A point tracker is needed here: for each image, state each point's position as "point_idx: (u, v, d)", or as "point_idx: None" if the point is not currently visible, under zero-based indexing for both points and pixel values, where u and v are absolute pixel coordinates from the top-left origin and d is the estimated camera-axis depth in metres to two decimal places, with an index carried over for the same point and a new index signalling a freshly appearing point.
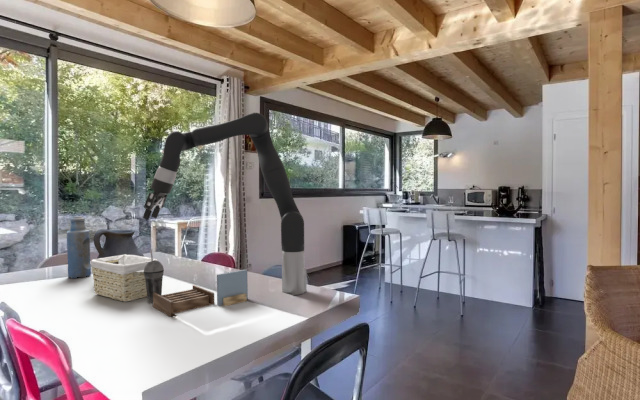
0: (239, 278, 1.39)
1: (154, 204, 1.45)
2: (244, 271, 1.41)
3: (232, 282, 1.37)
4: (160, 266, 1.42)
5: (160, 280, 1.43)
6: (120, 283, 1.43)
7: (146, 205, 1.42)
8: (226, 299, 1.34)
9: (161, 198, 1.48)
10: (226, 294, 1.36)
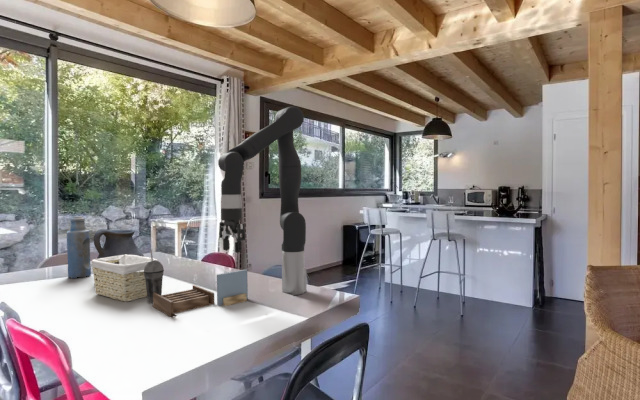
0: (239, 278, 1.39)
1: (240, 234, 1.36)
2: (244, 271, 1.41)
3: (232, 282, 1.37)
4: (160, 266, 1.42)
5: (160, 280, 1.43)
6: (120, 283, 1.43)
7: (240, 238, 1.32)
8: (226, 299, 1.34)
9: None
10: (226, 294, 1.36)
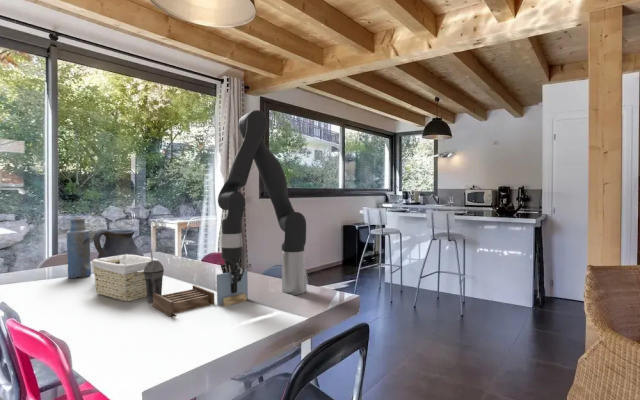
0: None
1: None
2: (244, 271, 1.41)
3: None
4: (160, 266, 1.42)
5: (160, 280, 1.43)
6: (121, 283, 1.43)
7: None
8: (226, 299, 1.34)
9: None
10: (226, 294, 1.36)
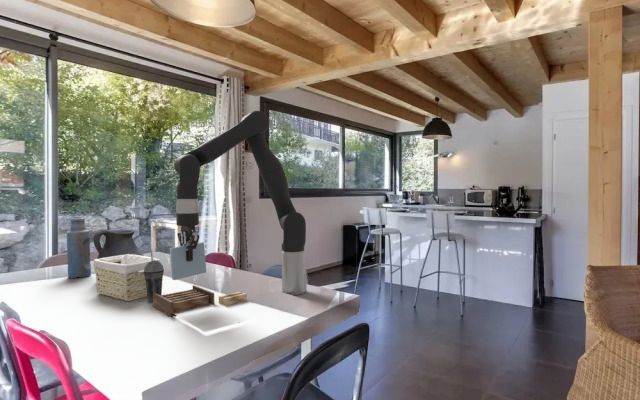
0: (195, 252, 1.34)
1: None
2: (200, 244, 1.35)
3: None
4: (160, 266, 1.42)
5: (160, 280, 1.43)
6: (122, 283, 1.44)
7: (191, 246, 1.30)
8: (226, 299, 1.34)
9: None
10: (181, 268, 1.30)
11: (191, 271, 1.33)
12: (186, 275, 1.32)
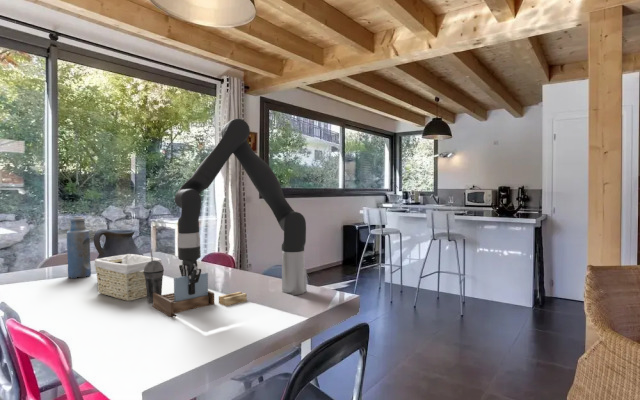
0: (198, 282, 1.35)
1: None
2: (204, 274, 1.36)
3: None
4: (160, 266, 1.42)
5: (160, 280, 1.43)
6: (123, 282, 1.44)
7: None
8: (226, 299, 1.34)
9: None
10: (184, 298, 1.31)
11: None
12: None
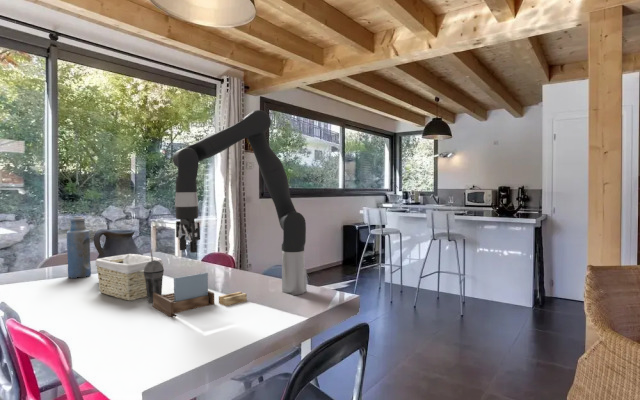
0: (198, 282, 1.35)
1: (195, 233, 1.30)
2: (204, 274, 1.36)
3: (191, 286, 1.33)
4: (160, 266, 1.42)
5: (160, 280, 1.43)
6: (124, 282, 1.44)
7: (195, 237, 1.27)
8: (226, 299, 1.34)
9: None
10: (184, 298, 1.31)
11: None
12: None
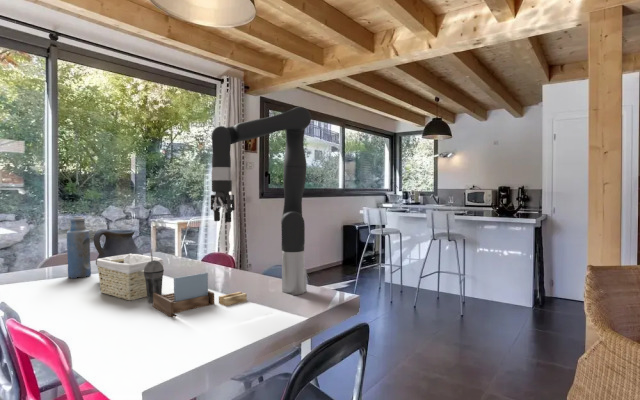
0: (198, 282, 1.35)
1: (230, 205, 1.42)
2: (204, 274, 1.36)
3: (191, 286, 1.33)
4: (160, 266, 1.42)
5: (160, 280, 1.43)
6: (125, 282, 1.44)
7: (230, 208, 1.39)
8: (226, 299, 1.34)
9: None
10: (184, 298, 1.31)
11: None
12: None
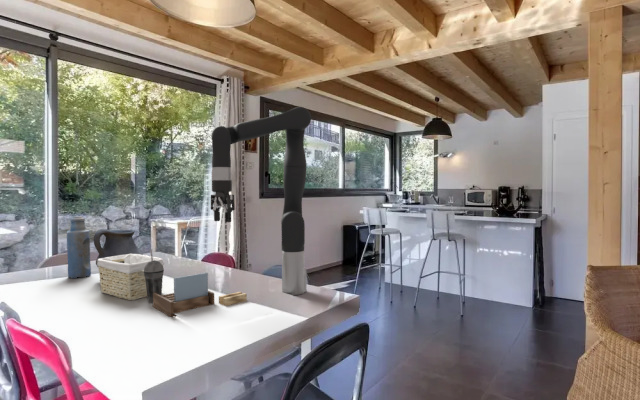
0: (198, 282, 1.35)
1: (230, 205, 1.42)
2: (204, 274, 1.36)
3: (191, 286, 1.33)
4: (160, 266, 1.42)
5: (160, 280, 1.43)
6: (126, 282, 1.45)
7: (230, 207, 1.39)
8: (226, 299, 1.34)
9: None
10: (184, 298, 1.31)
11: None
12: None
